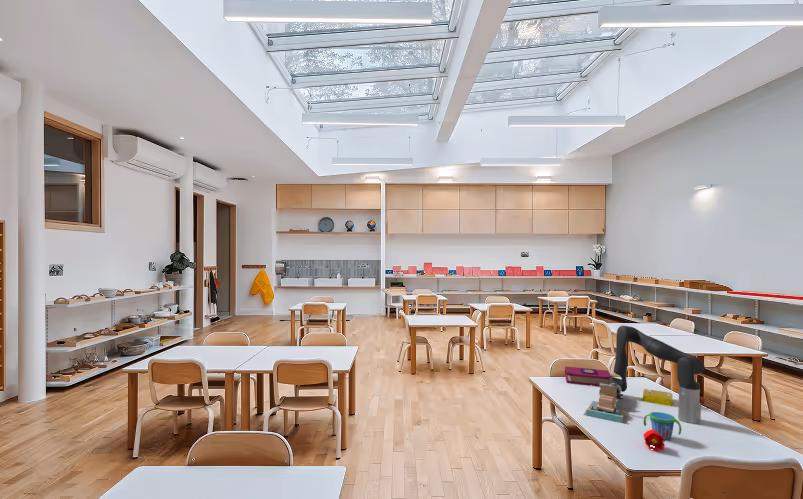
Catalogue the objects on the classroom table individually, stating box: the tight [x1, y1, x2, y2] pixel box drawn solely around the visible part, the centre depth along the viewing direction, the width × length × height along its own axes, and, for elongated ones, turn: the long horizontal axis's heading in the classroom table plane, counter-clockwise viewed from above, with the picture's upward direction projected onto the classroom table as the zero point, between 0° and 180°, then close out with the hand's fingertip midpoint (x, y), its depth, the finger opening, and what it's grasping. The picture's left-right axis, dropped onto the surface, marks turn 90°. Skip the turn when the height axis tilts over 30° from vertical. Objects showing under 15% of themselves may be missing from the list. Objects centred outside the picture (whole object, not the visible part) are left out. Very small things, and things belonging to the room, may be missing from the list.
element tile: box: [642, 388, 673, 407], centre depth 266 cm, size 15×15×5 cm
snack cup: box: [643, 411, 683, 440], centre depth 212 cm, size 16×10×10 cm
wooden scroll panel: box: [597, 383, 618, 414], centre depth 240 cm, size 11×9×14 cm
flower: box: [643, 429, 666, 452], centre depth 200 cm, size 8×8×8 cm
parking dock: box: [583, 400, 632, 425], centre depth 243 cm, size 28×20×4 cm
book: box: [564, 366, 613, 387], centre depth 304 cm, size 21×28×8 cm
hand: (608, 398), depth 245 cm, fingers closed
